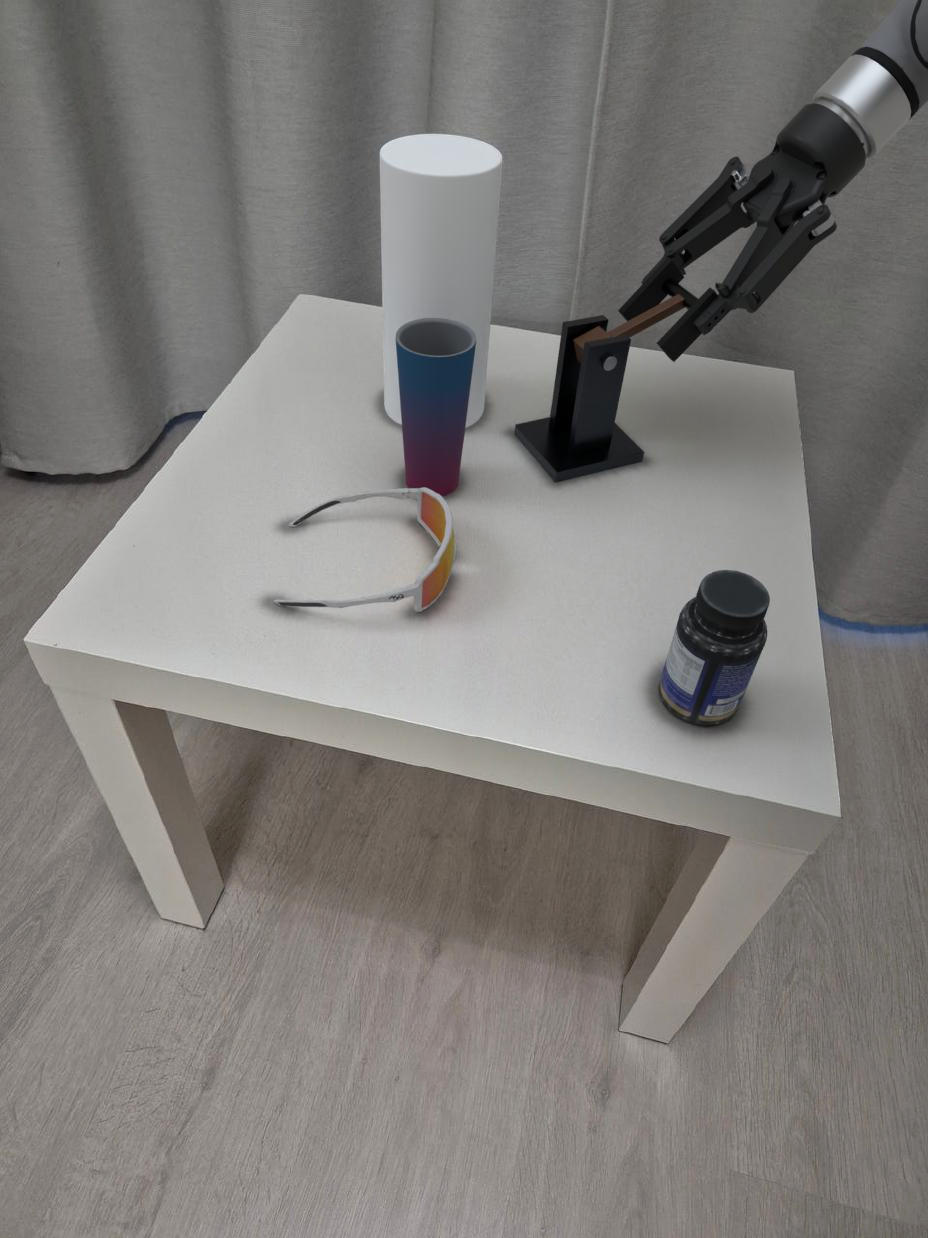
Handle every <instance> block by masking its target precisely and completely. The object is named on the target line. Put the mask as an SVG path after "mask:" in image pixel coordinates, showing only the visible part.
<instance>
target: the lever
mask: <svg viewBox="0 0 928 1238" xmlns="http://www.w3.org/2000/svg"><path fill="white" fill-rule="evenodd" d="M662 290H663V291H664V292H665V293H666V294H668V295H667V296H669V297H670V298H667V299H666V300H663V301H662V302H661V303H660V304H659V305H657V306H655V307H653V308H651V309H650V310H648V311H646V312H644V313H642V314H640V315H639V316H637V317H635V318H633V319H631V320H629V321H625V322H624V323H622V324H620V325H618V326H617V327H615V328H613V329H611V330H609V331H607V332H605V331H604V330H603V329H602V328H601V327H600V326H598V327H596V328H594V329H592V330H590V331H588V332H587V333H585V334H583V335H581V336H579V337H577V338H575V339H574V340H573V341H574V346H575V351H576V356H577V360H578V361H579V362H580V363H581V362H582V356H583V349H584V343H585V342H589V341H594V340H600V339H605V338H610V337H615V336H621V335H627V336H628V337H629V338H630V339H631V338H632V337H633V336H635V335H637V334H639V333H642V332H644V331H645V330H646V329H648V328H650V327H652V326H654V325H656V324H657V323H660V322H661V321H663V320H666V319H667V318H668V317H670V316H672V315H674V314H676V313H678V312H679V311H681V310H684V309H686V311H688V309H689V308H690V307H691V306H692V305H693V304H694V303H695V302H696V301H697V300H698V299H699V297H697V296H695V294H693V293H692V292H691V291H689V290H688V289H687V288H686V287H684V286H683V285H681V284H680V283H679V284H678V283H677V282H676V281H674V280H673V279H667V280H666V281H665V282H664V283H663V285H662Z"/></svg>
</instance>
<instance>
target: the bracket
mask: <svg viewBox="0 0 928 1238" xmlns="http://www.w3.org/2000/svg"><path fill="white" fill-rule="evenodd" d="M608 325H609V318H608V317H606V316H605V315H604V314H600V315H595V316H589V317H583V318H579V319H573V320H572V319H571V320H566V321H563V322H562V325H561V326H562V327H561V333H560V342H559V348H558V356H557V363H556V369H555V376H554V383H553V393H552V400H551V405H550V406H551V407H550V413H549V416H547V417H542V418H539V419H533V420H530V421H525V422H520V423H516V424H514V432H513V434H514V436H515V437H516V438H517V439H518V440H519V441H520V442H521V444H522V445H523V446H524V447H525V448H526V449H527V451H528V452H529V453H530V454H531V456H532V457H533V458H534V459H535V460H536V461H537V462H538V464H539V465H540V466H541V467H542V469H544V471H545V472H546V473H547V474H548V476H550V478H551V479H552V481H554V483H560V482H563V481H567V480H572V479H575V478H581V477H584V476H589V475H593V474H597V473H600V472H605V471H608V470H613V469H617V468H620V467H625V466H629V465H633V464H638V463H641V462H643V460H644V455H645V451H644V450H643V449H642V448H641V447H640V446H639V445H638V443H636V442H635V441H634V440H633V438H631V437H630V435H628V434H627V433H626V432H625V431H624V430H623V429H622V427H620V426H619V425H618V424H617V423H616V419H617V414H618V409H619V405H620V404H619V403H620V397H621V393H622V389H623V382H624V377H625V373H626V367H627V363H628V362H627V361H628V358H629V354H630V353H629V352H630V349H631V341H632V339H631V337H630V338H629V337H628V336H627V335H621V336H615V337H610V338H605V339H600V340H594V341H589V342H585V343H584V349H583V356H582V362H581V363H580V362H579V361H578V360H577V356H576V351H575V346H574V341H573V340H574V339H575V338H577V337H579V336H581V335H583V334H585V333H587V332H588V331H590V330H592V329H594V328H596V327H598V326H600V327H601V328H602V329H603V330H604V331H605V332H606V333H607V332H608Z"/></svg>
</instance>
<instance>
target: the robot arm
mask: <svg viewBox="0 0 928 1238" xmlns="http://www.w3.org/2000/svg"><path fill="white" fill-rule="evenodd" d="M811 102H812V103H808V104H805V105H803V106H802V107H801V109H800V110H799V111H798V112H797V113H796V114H795V115H794V116H793V117H792V118H791V120H789V122H788V123H787V124H786V125H785V126H784V127H783V128H782V129H781V131H779V132H778V134H777V135H776V139H775V144H774V146H773V148H772V151H771V152H770V153H769V154H768V155H766V156H764V157H763V158H762V159H760V160H758V161H757V162H756V163H755V164H747V163H743V162H742V160H741V159H740V157H739V156H733V157H731V158H730V159H729V160H728V161H727V163H726V164H725V166H724V167H723V169H722V171H721V172H720V174H719V176H718V177H717V178H716V179H715V180H714V181H713V182H712V183H711V184H710V185H709V186H708V187H707V188H706V189H705V190H704V191H703V192H702V193H701V194H700V195H699V196H698V197H697V198H696V199H695V200H694V201H693V202H692V203H691V204H690V205H689V206H688V207H687V208H686V209H685V210H684V211H683V212H682V213H680V215H679V216H678V217H677V218H676V219H675V220H674V221H673V222H672V223H671V224H670V225H669V226H668V227H667V228H666V229H665V230H664V231H663V232H662V233H661V234H660V235H659V238H658V240H659V243H660V244H661V247H662V248H663V251H664V252H663V253H664V254H663V255H662V257H661V259H660V260H659V261H657V263H656V264H655V265H654V266H653V267H652V268H651V269H650V270H649V271H648V273H646V274H645V276H643V279H642V280H641V283H640V284H641V285H640V286H639V287H638V288H637V290H635V292H634V293H633V294H632V295H631V296H630V297H629V298H628V299H627V300H626V301H625V302H624V303H623V305H621V306H620V308H619V309H618V310H617V311H618V313H619V315H621V316H622V317H623V318H624V320H625V322H627V321H629V320H631V319H633V318H635V317H637V316H639V315H640V314H642V313H644V312H646V311H648V310H650V309H651V308H653V307H655V306H657V305H659V304H661V303H662V302H664V301H665V299H666V298H667V296H669V295H668V294H666V293H665V292H664V291H663V290H662V285H663V283H664V282H665V281H666V280H667V279H673V280H674V281H676V282H677V283H678V284H680V283H681V282H682V281H683V280H684V278H685V276H686V275H687V271H686V270H685V269H686V268H687V267H689V266H690V265H692V264H693V263H694V262H695V261H697V260H698V259H700V258H701V257H702V256H704V255H705V254H706V253H708V252H710V251H711V250H713V248H715V247H716V246H718V245H719V244H721V243H722V242H723V241H725V240H727V238H729V237H730V236H731V235H733V234H735V233H737V231H738V230H740V229H742V228H743V229H747V228H749V227H751V226H752V225H754V224H755V223H756V227H755V229H754V230H753V232H752V233H751V235H750V237H749V239H748V240H747V242H746V243H745V244H744V247H743V248H742V250H741V251H740V253H739V255H738V256H737V258H736V259H735V261H734V263H733V264H732V266H731V267H730V270H729V271H728V272H727V274H726V276H725V277H724V279H723V281H722V282H715V284H714V287H715V290H714V289H713V288H712V287H711V286H709V287H708V289H706V290H705V291H704V293H703V294H702V295H701V296H700V297H698V300H697V301H696V302H695V303H694V304H693V305H692V306H691V307H690V308H689V309H688V310H686V312H684V313H683V315H681V316H680V318H679V319H678V320H677V321H676V322H675V323H674V324H673V325H672V326H671V327H670V328H669V329H668V330H667V331H666V332H665V333H664V334H663V336H661V338H660V339H659V340H657V342H656V344H657V346H658V347H659V348H660V349H661V351H662V352H663V353H664V354H665V356H667V358H668V359H669V360H671V362H673V363H675V362H676V361H677V360H678V359H679V358H680V357H681V356H682V355H683V354H684V352H686V351H687V349H688V348H690V346H692V344H694V342H695V341H696V340H697V339H698V338H699V337H700V336H706V335H708V334H709V333H711V331H712V330H713V329H715V327H716V326H718V324H719V323H721V321H722V320H723V319H724V318H725V317H726V316H727V315H728V314H729V313H730V312H731V311H735V310H737V309H741V310H746V312H747V313H749V314H753V313H756V312H757V311H758V310H759V309H760V308H761V306H763V304H764V303H765V302H766V301H767V300H768V299H769V297H771V295H773V293H774V292H775V291H776V290H777V289H778V288H779V286H780V285H781V284H782V283H783V282H784V281H785V280H786V279H787V278H788V277H789V275H791V273H792V272H793V271H794V270H795V268H796V267H797V266H798V265H799V264H800V263H801V262H802V260H803V259H804V258H806V256H807V255H808V254H809V253H810V252H811V250H812V249H813V248H814V247H815V246H817V245H818V244H819V243H821V242H822V241H824V240H825V239H827V238H828V237H829V236H830V235H832V234H834V232H836V230H837V228H838V225H837V222H836V220H835V217H834V216H833V214H832V212H831V209H830V208H829V205H828V204H826V201H827V199H828V198H834V197H837V195H839V194H840V193H841V192H842V191H843V190H844V189H845V188H846V186H848V185H849V184H850V183H851V181H852V180H853V179H855V177H856V176H857V175H858V174H859V173H860V172H861V171H862V170H863V169H865V166H866V162H867V161H866V160H870V159H872V158H874V157H875V156H876V155H877V154H878V153H879V152H880V151H881V150H882V149H883V148H884V146H886V145H887V144H888V142H890V141H891V139H893V138H894V136H895V135H897V133H898V132H899V131H901V129H902V128H903V127H904V126H905V125H906V124H907V123H908V122H909V121H910V120H911V119H912V118H913V117H914V116H915V115H916V114H917V113H918V111H920V110H921V108H923V106H925V104H926V103H928V0H901V1H899V3H898V4H897V5H896V7H895V8H894V9H893V10H892V11H890V13H889V14H888V15H887V16H886V18H885V19H884V20H883V21H882V22H881V23H880V24H879V25H878V26H877V27H876V28H875V30H874V31H873V32H872V33H871V34H870V35H869V36H868V38H866V39H865V41H864V42H863V43H862V44H861V45H860V46H859V47H858V48H857V49H856V50H855V51H854V52H853V53H852V54H851V55H850V56H849V57H848V58H846V60H845V61H844V62H843V63H842V65H840V66H839V68H838V69H836V70H835V72H834V73H833V74H832V75H831V76H830V77H829V78H828V79H827V80H826V81H825V82H824V83H823V84H822V85H821V87H819V89H818V90H817V91H816V92H815V93H813V95H812V100H811ZM742 206H743V207H742ZM744 209H745V211H744ZM717 292H718V293H717Z"/></svg>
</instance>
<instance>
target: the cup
mask: <svg viewBox="0 0 928 1238" xmlns="http://www.w3.org/2000/svg"><path fill="white" fill-rule="evenodd" d="M395 338H396V352H397V365H398V379H399V393H400V406H401V420H402V425H401V432H402V433H401V434H402V447H403V458H404V472H405V473H404V475H405V483H406V487H407V488H423V487H426V488H428V489H430V490H432V491H434V492H435V493H437V494H440V495H441V496H442V497H445V496H448V495H450V494H452V493H454V492H455V491H456V489H457V488H458V486H459V480H460V472H461V465H462V457H463V450H464V449H463V448H464V442H465V441H464V440H465V433H466V428H465V426H466V418H467V410H468V402H469V395H470V387H471V379H472V371H473V363H474V355H475V347H476V335H475V333H474V332H473V330H472V329H471V328H469V327H468V326H466V325H464V324H462V323H460V322H457V321H454V320H450V319H444V318H422V319H417V320H413V321H410V322H408V323H405V324H404V325H402V326H401V327H400V328H399V329H398V330H397V332H396V337H395Z"/></svg>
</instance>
